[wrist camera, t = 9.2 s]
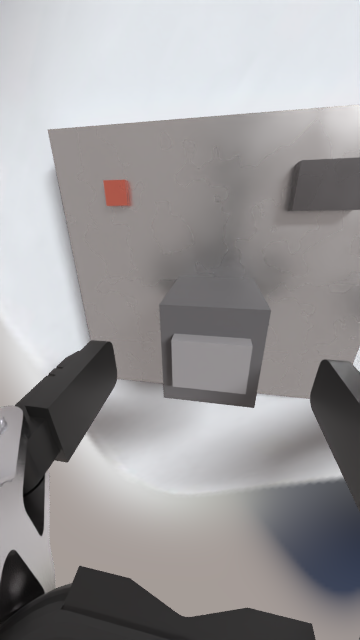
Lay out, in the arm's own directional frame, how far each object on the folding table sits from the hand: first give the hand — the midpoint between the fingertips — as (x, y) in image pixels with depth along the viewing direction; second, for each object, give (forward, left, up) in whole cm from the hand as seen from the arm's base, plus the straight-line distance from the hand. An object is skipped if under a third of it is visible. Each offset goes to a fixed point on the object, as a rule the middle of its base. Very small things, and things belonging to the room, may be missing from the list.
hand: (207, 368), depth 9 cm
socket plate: (-2, 0, -8) cm, 8 cm away
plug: (0, 0, -8) cm, 8 cm away
